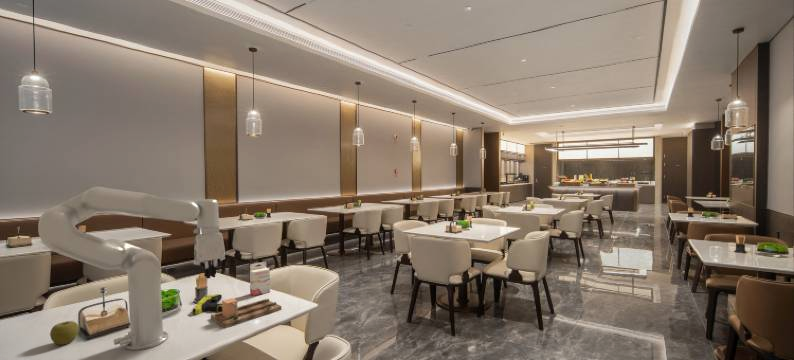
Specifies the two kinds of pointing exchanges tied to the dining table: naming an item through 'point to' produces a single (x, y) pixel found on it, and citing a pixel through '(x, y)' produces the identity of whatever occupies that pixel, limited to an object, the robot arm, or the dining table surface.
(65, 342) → the apple
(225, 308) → the orange tan block
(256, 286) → the ink cartridge box
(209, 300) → the stun gun
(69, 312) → the dining table surface
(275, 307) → the wooden slatted tray
